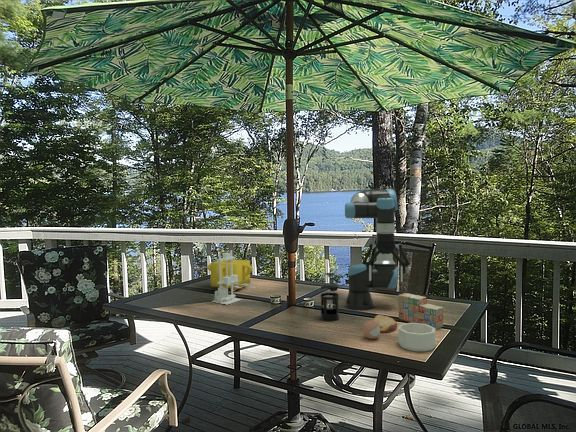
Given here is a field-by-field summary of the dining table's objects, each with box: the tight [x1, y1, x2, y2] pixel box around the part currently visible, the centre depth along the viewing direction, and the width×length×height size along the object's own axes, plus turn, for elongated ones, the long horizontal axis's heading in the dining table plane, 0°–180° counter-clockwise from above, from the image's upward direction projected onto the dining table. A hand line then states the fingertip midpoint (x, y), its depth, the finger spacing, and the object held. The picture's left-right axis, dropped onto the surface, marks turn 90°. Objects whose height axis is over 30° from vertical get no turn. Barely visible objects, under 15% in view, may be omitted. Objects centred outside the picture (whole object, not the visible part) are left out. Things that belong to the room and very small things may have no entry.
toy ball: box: [362, 319, 381, 340], centre depth 182 cm, size 8×8×8 cm
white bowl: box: [397, 322, 436, 353], centre depth 173 cm, size 14×14×7 cm
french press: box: [320, 272, 340, 322], centre depth 211 cm, size 12×9×23 cm
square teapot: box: [206, 257, 253, 290], centre depth 282 cm, size 35×30×21 cm
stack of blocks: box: [397, 292, 444, 330], centre depth 202 cm, size 21×6×12 cm, turn 36°
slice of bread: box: [372, 314, 398, 334], centre depth 199 cm, size 18×18×4 cm
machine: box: [211, 249, 256, 306], centre depth 242 cm, size 29×12×30 cm, turn 55°
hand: (385, 280), depth 186 cm, fingers open, 13 cm apart
